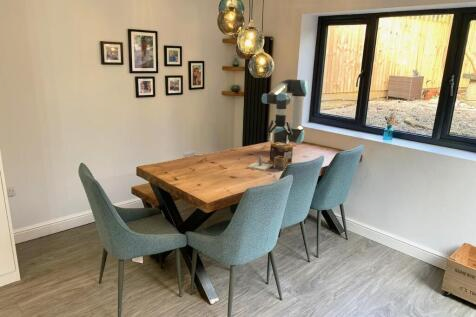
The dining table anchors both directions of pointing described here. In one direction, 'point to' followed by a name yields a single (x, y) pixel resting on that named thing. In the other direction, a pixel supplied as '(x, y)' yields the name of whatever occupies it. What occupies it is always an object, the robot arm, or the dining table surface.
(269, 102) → the robot arm
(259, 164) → the white post holder
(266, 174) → the dining table surface
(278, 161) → the brown block
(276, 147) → the supplement box
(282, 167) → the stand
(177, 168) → the dining table surface
